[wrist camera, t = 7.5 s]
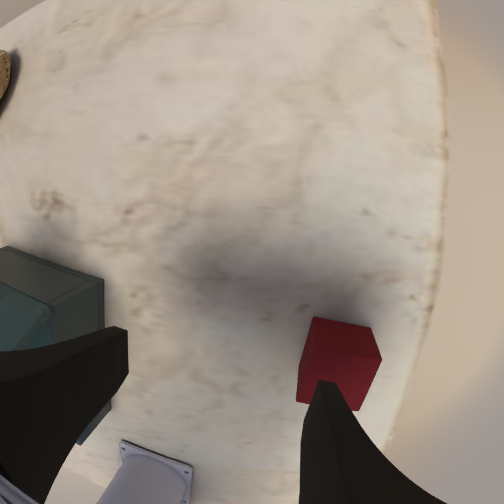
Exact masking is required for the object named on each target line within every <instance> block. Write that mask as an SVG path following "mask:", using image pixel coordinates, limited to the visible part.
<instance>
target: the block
mask: <svg viewBox="0 0 504 504" xmlns="http://www.w3.org/2000/svg"><path fill="white" fill-rule="evenodd" d="M381 361H382V358H381V355H380V352H379V349H378V346H377V343H376V341H375V338H374V335H373V332H372V330H371V328H369V327H364V326H358V325H353V324H348V323H343V322H338V321H333V320H328V319H323V318H318V317H313V319H312V323H311V326H310V330H309V333H308V337H307V340H306V344H305V347H304V350H303V354H302V357H301V360H300V364H299V370H298V382H297V394H296V401H297V402H301V403H306V404H310V403H311V400H312V397H313V395H314V392H315V389H316V386H317V383H318V381H319V380H324V381H330V382H336V384H337V386H338V387H339V389H340V391H341V393H342V395H343V397H344V399H345V400H346V402H347V404H348V406H349V407H350V409H351V411H359V409H360V407H361V405H362V403H363V401H364V399H365V397H366V395H367V393H368V390H369V388H370V386H371V384H372V382H373V379H374V377H375V375H376V372H377V370H378V368H379V365H380V363H381Z"/></svg>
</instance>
